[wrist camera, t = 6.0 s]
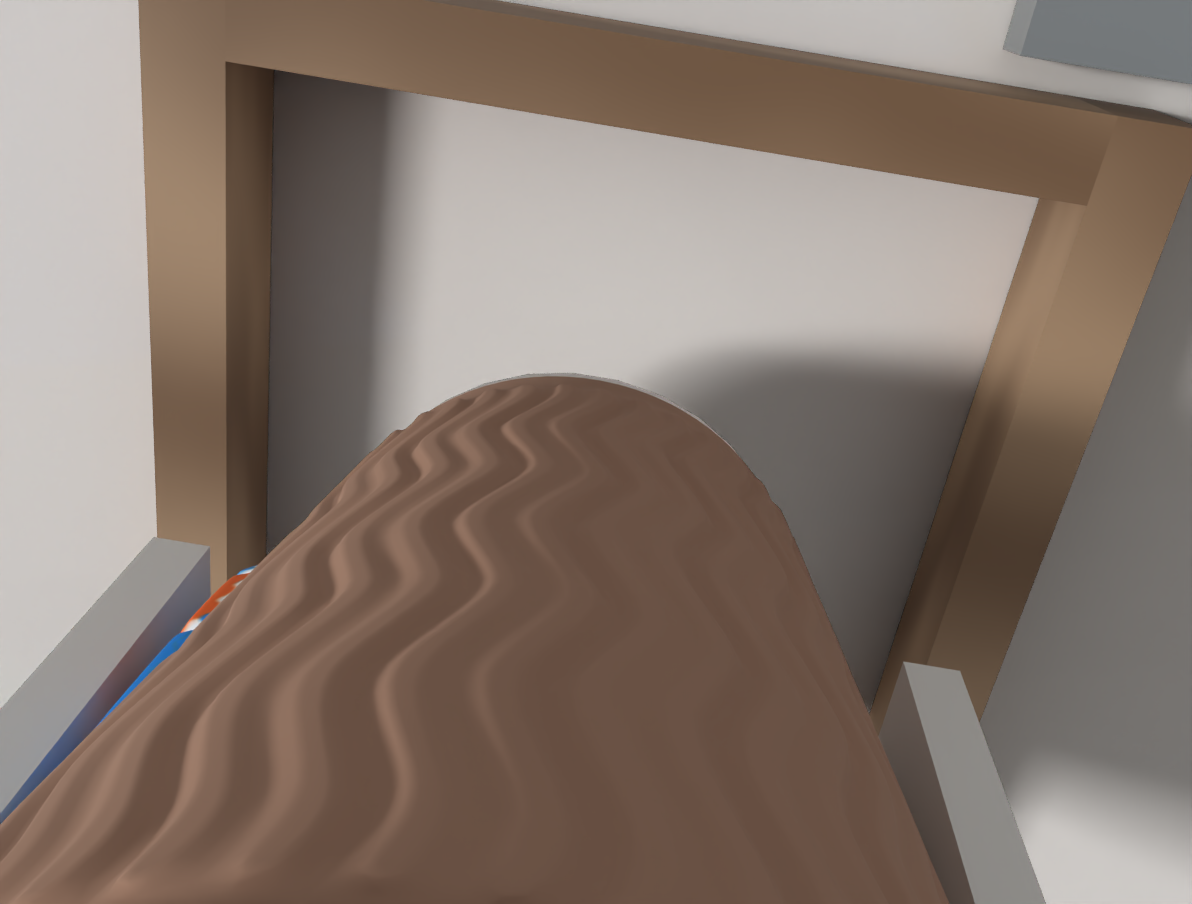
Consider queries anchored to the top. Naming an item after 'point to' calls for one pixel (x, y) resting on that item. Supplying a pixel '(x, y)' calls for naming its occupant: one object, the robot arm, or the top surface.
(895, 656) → the brown wooden square frame
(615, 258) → the top surface
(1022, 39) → the slate coaster
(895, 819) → the coffee cup
